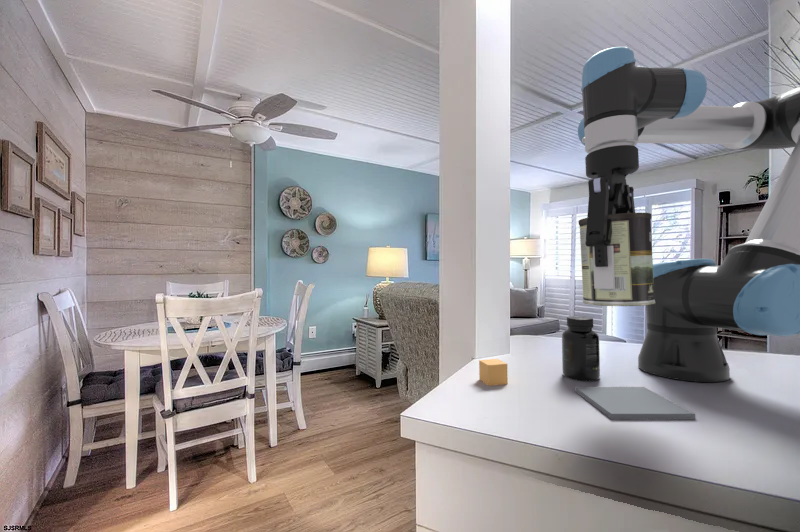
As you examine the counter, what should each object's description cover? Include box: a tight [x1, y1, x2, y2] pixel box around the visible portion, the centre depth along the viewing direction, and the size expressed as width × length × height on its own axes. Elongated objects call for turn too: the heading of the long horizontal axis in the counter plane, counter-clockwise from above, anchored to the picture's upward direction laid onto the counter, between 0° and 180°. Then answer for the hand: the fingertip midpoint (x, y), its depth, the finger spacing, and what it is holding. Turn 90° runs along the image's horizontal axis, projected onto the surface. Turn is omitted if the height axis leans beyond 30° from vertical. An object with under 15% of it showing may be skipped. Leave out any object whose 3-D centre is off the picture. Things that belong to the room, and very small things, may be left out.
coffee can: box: [578, 212, 655, 307], centre depth 60 cm, size 10×10×14 cm
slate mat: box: [574, 386, 696, 420], centre depth 59 cm, size 12×12×1 cm
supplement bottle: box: [561, 315, 601, 382], centre depth 74 cm, size 7×7×12 cm
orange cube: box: [478, 358, 509, 387], centre depth 72 cm, size 4×4×4 cm
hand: (616, 286), depth 60 cm, fingers closed on coffee can, 10 cm apart
